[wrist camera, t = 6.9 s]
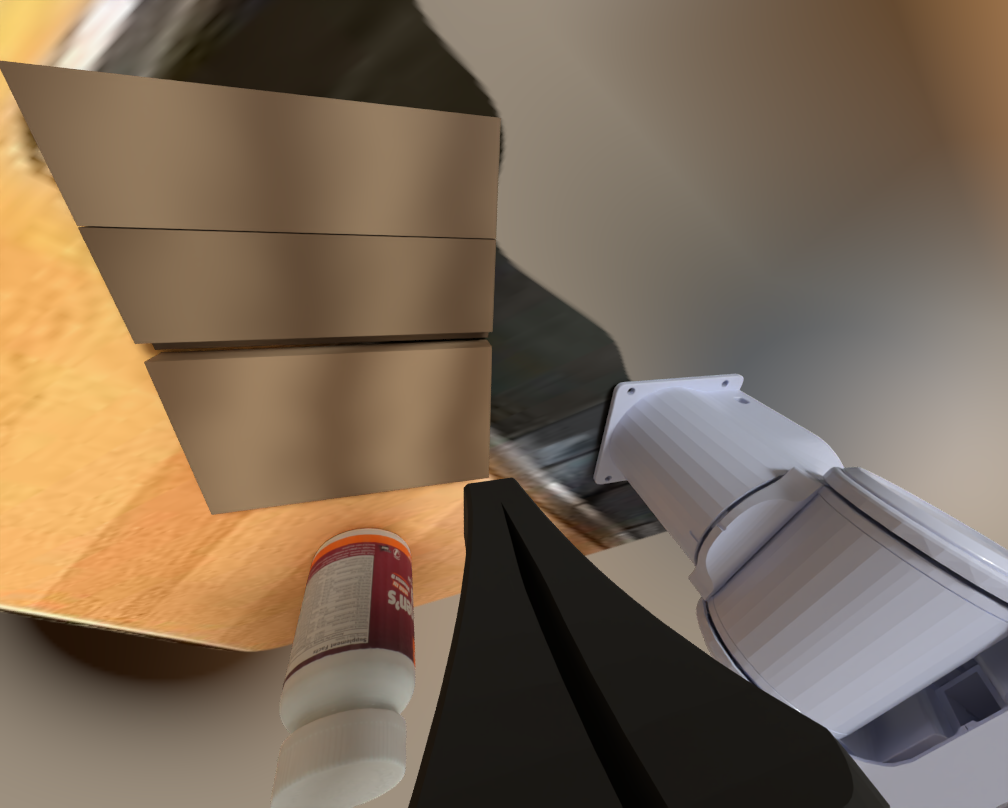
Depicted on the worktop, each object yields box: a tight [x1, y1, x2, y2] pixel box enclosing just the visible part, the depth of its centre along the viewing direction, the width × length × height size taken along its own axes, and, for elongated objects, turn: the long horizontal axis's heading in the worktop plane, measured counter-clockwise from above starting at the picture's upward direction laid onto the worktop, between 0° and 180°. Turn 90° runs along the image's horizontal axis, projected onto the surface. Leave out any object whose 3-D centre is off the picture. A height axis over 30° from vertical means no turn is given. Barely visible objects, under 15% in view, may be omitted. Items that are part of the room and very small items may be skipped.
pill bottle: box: [271, 528, 415, 808], centre depth 19 cm, size 6×6×11 cm
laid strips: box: [0, 61, 501, 350], centre depth 14 cm, size 14×9×1 cm, turn 87°
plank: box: [144, 340, 492, 515], centre depth 18 cm, size 14×8×1 cm, turn 87°
